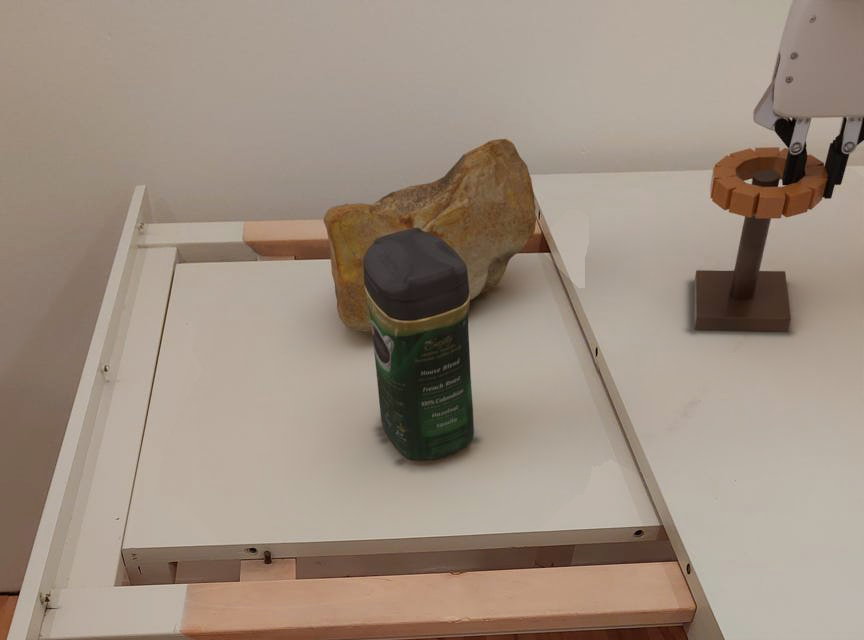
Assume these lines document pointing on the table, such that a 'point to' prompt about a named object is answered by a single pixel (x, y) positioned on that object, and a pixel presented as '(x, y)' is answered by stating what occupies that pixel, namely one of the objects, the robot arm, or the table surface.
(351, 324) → the rough brown rock
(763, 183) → the post stand
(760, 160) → the ring
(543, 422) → the table surface
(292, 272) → the table surface
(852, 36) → the robot arm
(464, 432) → the coffee jar
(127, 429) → the table surface
